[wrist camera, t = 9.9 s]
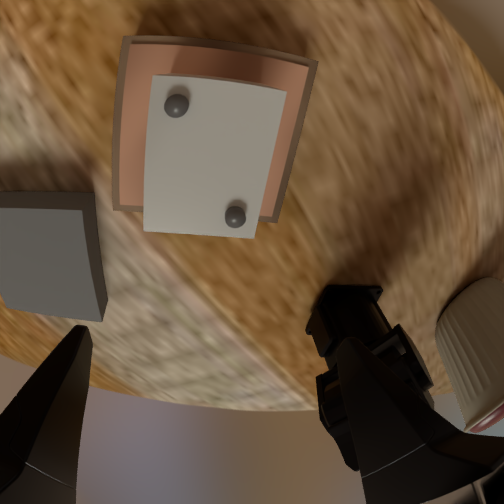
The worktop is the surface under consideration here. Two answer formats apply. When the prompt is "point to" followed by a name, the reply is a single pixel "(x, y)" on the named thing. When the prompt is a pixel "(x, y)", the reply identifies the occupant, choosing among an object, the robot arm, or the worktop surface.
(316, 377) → the robot arm
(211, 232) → the two-plate housing
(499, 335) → the canister
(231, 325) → the worktop surface
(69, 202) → the slate stand
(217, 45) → the brown square tray
